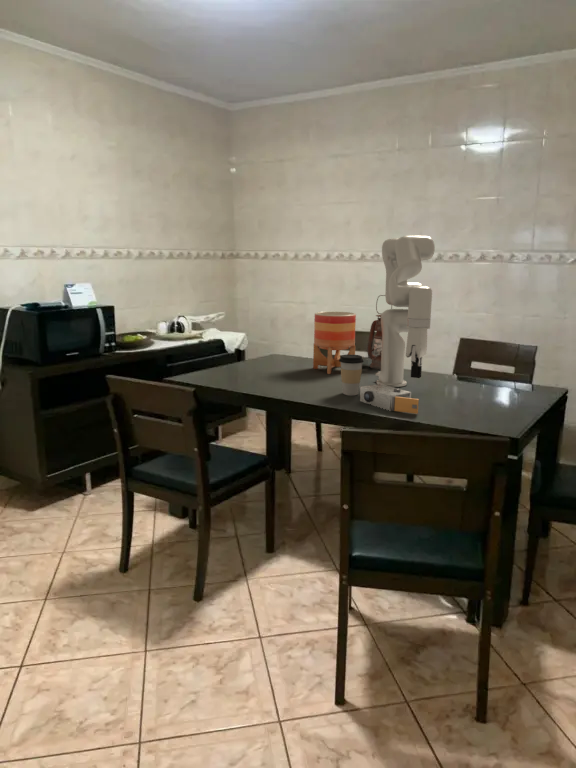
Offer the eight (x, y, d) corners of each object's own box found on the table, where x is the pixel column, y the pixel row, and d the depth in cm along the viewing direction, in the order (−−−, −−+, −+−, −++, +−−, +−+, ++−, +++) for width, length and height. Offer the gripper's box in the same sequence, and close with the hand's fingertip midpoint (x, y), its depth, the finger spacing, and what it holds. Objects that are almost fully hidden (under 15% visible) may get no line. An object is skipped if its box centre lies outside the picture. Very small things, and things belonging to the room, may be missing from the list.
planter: (318, 364, 279) (320, 310, 273) (358, 367, 273) (360, 312, 267) (307, 372, 260) (308, 314, 254) (349, 375, 254) (351, 316, 248)
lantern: (373, 363, 283) (376, 293, 275) (401, 367, 273) (405, 295, 265) (361, 366, 275) (363, 294, 267) (389, 371, 265) (393, 296, 257)
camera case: (357, 401, 208) (358, 385, 207) (379, 397, 214) (380, 381, 213) (387, 411, 195) (388, 394, 194) (410, 407, 202) (411, 390, 200)
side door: (392, 409, 196) (392, 395, 195) (417, 413, 192) (418, 399, 191) (390, 410, 195) (391, 396, 194) (417, 414, 191) (417, 399, 190)
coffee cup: (366, 392, 222) (367, 355, 219) (356, 397, 214) (357, 359, 211) (344, 389, 227) (345, 353, 223) (334, 394, 219) (335, 356, 215)
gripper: (413, 321, 197) (410, 372, 201) (401, 325, 184) (398, 379, 188) (435, 322, 194) (431, 374, 197) (424, 326, 181) (421, 382, 184)
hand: (415, 377), depth 192 cm, fingers closed
